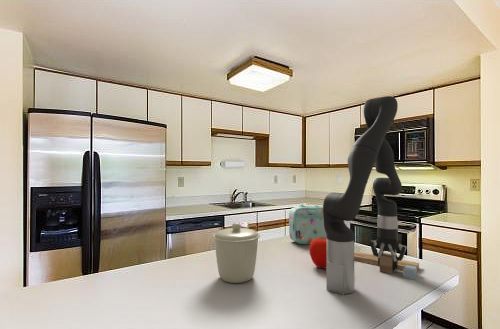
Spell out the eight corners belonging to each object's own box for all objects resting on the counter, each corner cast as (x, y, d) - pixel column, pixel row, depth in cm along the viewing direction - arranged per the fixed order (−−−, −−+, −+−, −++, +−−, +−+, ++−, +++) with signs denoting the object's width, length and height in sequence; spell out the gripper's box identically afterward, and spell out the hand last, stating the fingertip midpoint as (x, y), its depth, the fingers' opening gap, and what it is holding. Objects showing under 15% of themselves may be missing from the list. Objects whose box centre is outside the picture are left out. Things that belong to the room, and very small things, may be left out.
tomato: (333, 263, 121) (333, 234, 121) (339, 272, 110) (339, 240, 110) (307, 262, 122) (307, 233, 122) (310, 271, 111) (310, 240, 111)
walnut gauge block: (391, 273, 108) (391, 258, 108) (379, 271, 111) (379, 256, 111) (395, 269, 112) (395, 255, 112) (384, 267, 115) (383, 252, 115)
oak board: (415, 273, 109) (415, 268, 109) (350, 259, 126) (350, 254, 126) (419, 267, 115) (418, 262, 115) (356, 255, 132) (356, 250, 132)
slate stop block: (413, 279, 103) (413, 271, 103) (403, 276, 105) (403, 269, 105) (416, 274, 107) (416, 267, 107) (406, 272, 110) (406, 264, 110)
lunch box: (293, 246, 148) (293, 206, 148) (286, 241, 158) (286, 204, 158) (337, 242, 154) (337, 204, 154) (328, 238, 164) (327, 202, 164)
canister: (255, 290, 94) (255, 228, 95) (205, 285, 98) (205, 226, 98) (263, 270, 112) (263, 219, 112) (221, 267, 116) (221, 217, 116)
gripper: (366, 225, 114) (366, 266, 113) (404, 230, 104) (405, 275, 104) (372, 222, 119) (372, 262, 119) (409, 227, 110) (409, 270, 110)
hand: (387, 268), depth 112 cm, fingers closed on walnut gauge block, 4 cm apart
